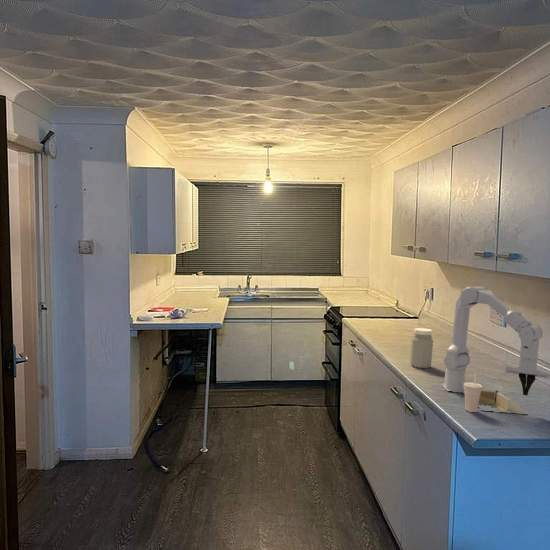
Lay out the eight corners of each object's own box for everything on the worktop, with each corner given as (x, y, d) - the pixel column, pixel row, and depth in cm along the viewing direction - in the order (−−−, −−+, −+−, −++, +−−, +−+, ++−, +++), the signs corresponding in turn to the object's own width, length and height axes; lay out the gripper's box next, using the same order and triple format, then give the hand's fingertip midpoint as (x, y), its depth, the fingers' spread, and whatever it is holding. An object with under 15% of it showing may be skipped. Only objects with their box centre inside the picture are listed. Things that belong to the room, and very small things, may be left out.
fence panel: (495, 402, 188) (496, 392, 188) (498, 402, 188) (499, 392, 188) (507, 410, 180) (508, 399, 180) (509, 410, 180) (510, 399, 180)
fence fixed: (470, 401, 190) (472, 388, 190) (496, 403, 189) (497, 390, 189) (471, 402, 189) (472, 389, 189) (497, 404, 188) (498, 391, 188)
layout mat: (468, 396, 196) (468, 395, 196) (512, 400, 194) (512, 399, 194) (480, 411, 180) (480, 410, 180) (528, 415, 178) (528, 414, 178)
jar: (432, 370, 233) (435, 332, 231) (410, 367, 235) (413, 330, 233) (429, 364, 243) (432, 328, 241) (409, 362, 244) (411, 326, 243)
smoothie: (480, 415, 176) (483, 376, 174) (461, 412, 178) (464, 374, 177) (480, 409, 181) (483, 372, 180) (461, 406, 184) (464, 369, 183)
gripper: (550, 358, 180) (546, 394, 181) (506, 352, 186) (503, 388, 187) (552, 362, 174) (548, 400, 175) (506, 356, 179) (503, 393, 181)
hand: (525, 394), depth 181 cm, fingers closed
